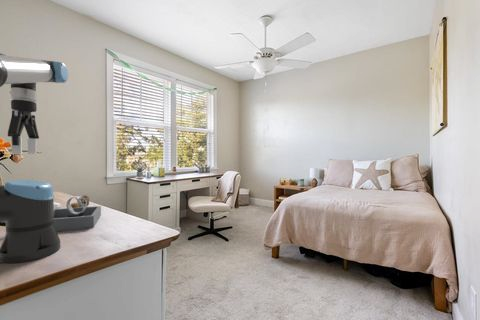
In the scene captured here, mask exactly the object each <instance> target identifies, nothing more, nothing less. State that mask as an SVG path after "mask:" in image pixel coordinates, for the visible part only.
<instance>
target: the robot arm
mask: <svg viewBox="0 0 480 320" xmlns="http://www.w3.org/2000/svg"><path fill="white" fill-rule="evenodd" d="M68 79H69V72H68V69H67V66H66V65H65V63H63V62H61V61H55V60H46V59H36V58H29V57H19V56H11V55H6V54H4V53H2V52H0V88H1V87H3V86H4V85H10V91H9V95H10V98H11V100H10V108H11V118H10V122H9V126H8V129H7V130H8V131H7V136H8V137H11V155H23V141H22V138H23V137H22V136H21V134H22V132H23V130H25V132H26V134H27V136H28V138H27V154H28V155H29V154H30V155H36V154H37V139H38V140H39V138H40V136H39V131H38V128H37V127H38V126H37V122H36V115H34V114H32V113H36V112H37V111H38V110H37V83H56V84H65V83H66V82H67V81H68ZM54 198H55V195H54V189H53V185H52V184H50V183H48V182H45V181H40V180H30V179H29V180H21V179H20V180H19V179H17V180H8V181H6V182H4V185H0V223H3V224H4V223H5V235H4V238H3V240H2V243H1V244H0V261H2V262H1V263H3V262H7V263H6V264H16V263H25V262H30V261H34V260H39V259H43V258H45V257H47V256H49V255H52V254H55V253H57V252H58V251H59V250H60V249H61V239H60V237H59V234H58V231H56V230H55V228H54V205H53V202H54Z"/></svg>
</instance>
